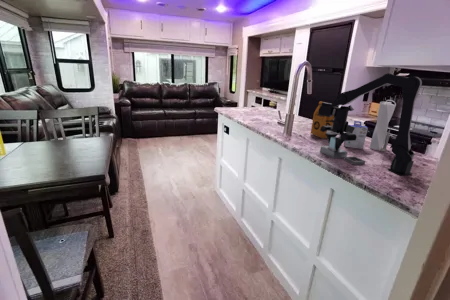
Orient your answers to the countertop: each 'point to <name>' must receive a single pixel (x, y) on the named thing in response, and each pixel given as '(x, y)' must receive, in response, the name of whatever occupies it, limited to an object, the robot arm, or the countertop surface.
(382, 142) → the skyscraper
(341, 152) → the socket
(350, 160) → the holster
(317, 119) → the coffee package
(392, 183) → the countertop surface
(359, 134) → the ink cartridge box
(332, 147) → the plug
